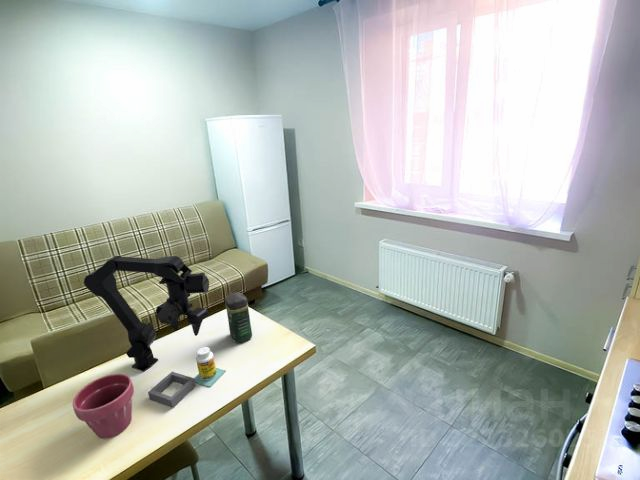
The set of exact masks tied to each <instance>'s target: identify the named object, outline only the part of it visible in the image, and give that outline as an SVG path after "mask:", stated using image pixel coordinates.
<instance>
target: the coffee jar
mask: <svg viewBox="0 0 640 480" xmlns="http://www.w3.org/2000/svg"><path fill="white" fill-rule="evenodd" d="M224 304H225V308H226V314H227V315H226V317H227V322H228V329H229V335H230V338H231V339H232V340H233V341H234V342H235V343H236V344H237V343H245V342H247V341H249V340H250V339H252V337H253V331H252V325H251V319H250V312H249V302H248V298H247V296H246V295H245V294H243V293H242V292H238V291H234V292H231V293H228V294H227V295H226V296H225V298H224Z"/></svg>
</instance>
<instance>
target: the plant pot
mask: <svg viewBox="0 0 640 480" xmlns="http://www.w3.org/2000/svg"><path fill="white" fill-rule="evenodd" d="M132 381H133V380H132V378H131V377H130V376H129V375H127V374H125V373H112V374H108V375H105V376H102V377H99V378H97V379H95V380H92V381H91V382H90V383H88V384H87V385H85V386H84V387H83V388H81V389H80V390H79V391H78V392H77V394H75V396H74V398H73V401H72V408H73V411H74V414H75V415H76V418H77V419H78V420H80V421H82V422H84V423H85V424H86V425H87V426H88V427H89V429H90V430H91V431H92V432H93V433H94V434H95V436H96V437H97V438H99V439H103V440H107V439H111V438H114V437H116V436H118V435H120V434H121V433H123V432H124V431H125V430H126V429H127V428H128V427H129V426H130V424H131V423H132V416H133V415H132V411H133V410H132V404H133V401H132V399H133V396H134V393H135V389H134V384H133V382H132Z"/></svg>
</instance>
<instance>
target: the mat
mask: <svg viewBox="0 0 640 480" xmlns="http://www.w3.org/2000/svg"><path fill="white" fill-rule="evenodd" d="M226 372H227V370H225V369H223V368H218V367H216V375H215V376H214V377H213V378H212V379H210V380H202V379H201V378H200V376H199V373H198V374H196V375H195V377H193V378H194V379H195V383H196V384H199V385H202V386H205V387H206V388H207V387H208V388H211V387H213V385H214V384H215V383H216V382H217V381H218V380H219V379H220V378H221V377H222V376H223V375H224V374H225V373H226Z"/></svg>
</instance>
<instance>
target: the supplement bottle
mask: <svg viewBox="0 0 640 480" xmlns="http://www.w3.org/2000/svg"><path fill="white" fill-rule="evenodd" d="M210 349H211V348H209V347H207V346H204V347H201V348H199V349H198V350H197V352H196V354H197V355H196V358H195V361H196V366H197V370H198V374H199V376H200V378H201V379H202V380H210V379H212V378H213V377H214V376H215V375H216V368H217V366H216V362H215V356H214V353H213V352H212V351H211V350H210Z"/></svg>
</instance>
